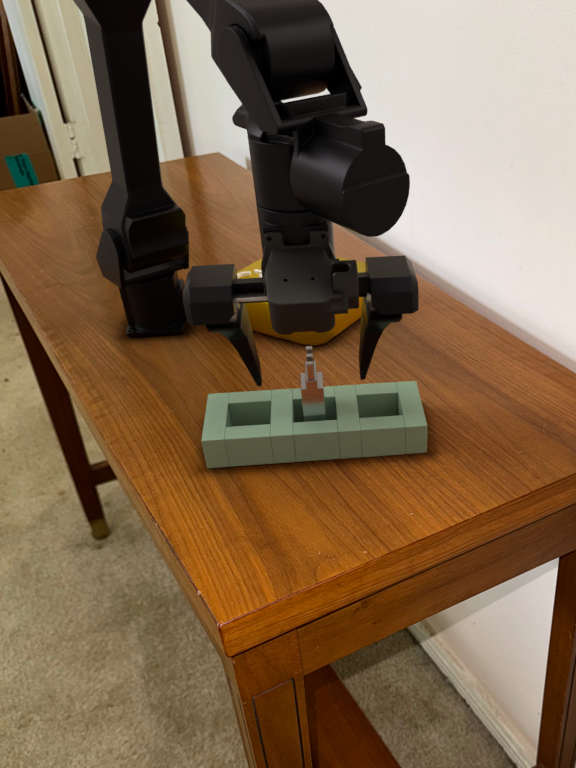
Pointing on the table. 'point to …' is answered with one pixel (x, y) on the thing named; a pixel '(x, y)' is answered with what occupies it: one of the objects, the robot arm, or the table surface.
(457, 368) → the table surface
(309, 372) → the flat stepped stick
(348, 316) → the element tile
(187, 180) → the table surface
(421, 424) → the rack
